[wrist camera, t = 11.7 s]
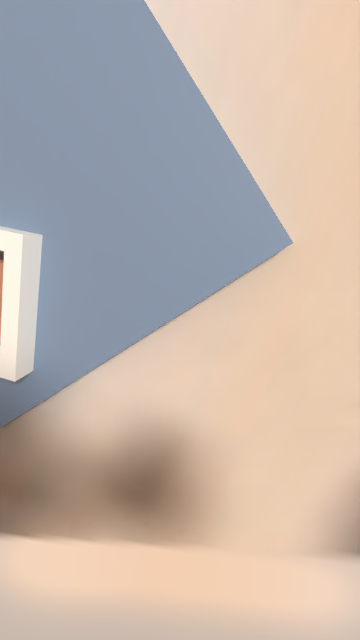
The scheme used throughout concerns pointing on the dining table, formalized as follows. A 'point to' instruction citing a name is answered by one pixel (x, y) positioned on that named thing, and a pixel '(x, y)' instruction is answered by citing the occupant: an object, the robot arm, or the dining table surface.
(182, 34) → the dining table surface
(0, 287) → the terracotta pillar
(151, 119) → the board
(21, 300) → the snap socket
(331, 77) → the dining table surface
